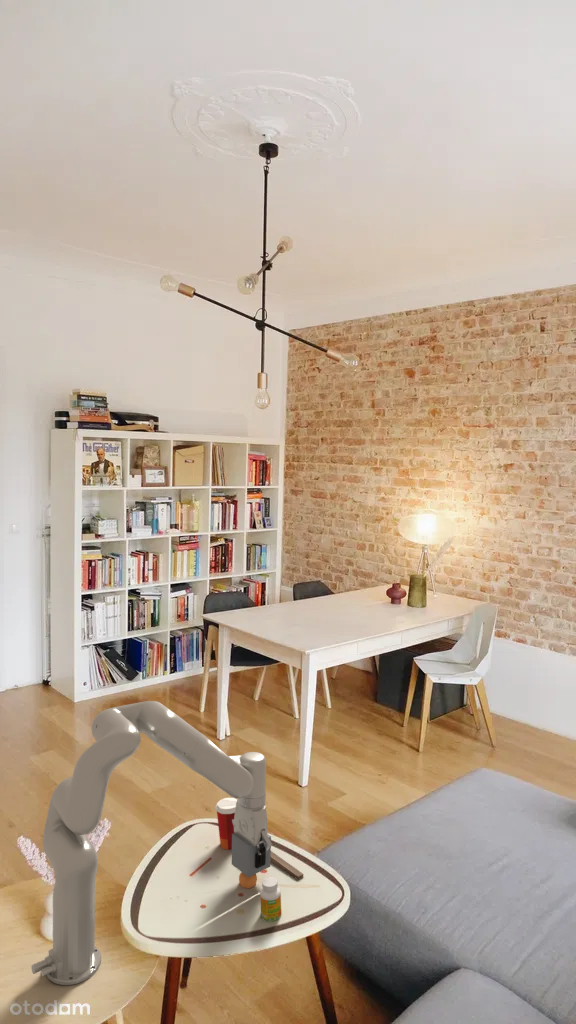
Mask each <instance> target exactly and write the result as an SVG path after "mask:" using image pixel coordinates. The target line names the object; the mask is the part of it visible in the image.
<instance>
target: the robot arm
mask: <svg viewBox="0 0 576 1024" xmlns="http://www.w3.org/2000/svg"><path fill="white" fill-rule="evenodd" d="M90 727H91V728H90V730H91V734H92V736H93V738H94V739H95V742H94V743H92V744H91V745H90V746H89V747H88V748H86V750H84V751H83V753H81V755H80V756H79V757H78V760H77V761H76V764H75V766H74V769H73V772H72V773H73V774H72V776H70V777H66V778H65V779H63V780H62V781H60V783H59V784H57V786H56V787H55V789H54V790H53V792H52V794H51V798H50V801H49V805H48V810H47V815H46V819H45V824H44V830H43V836H42V849H43V852H44V854H45V856H46V858H47V860H48V861H49V863H50V865H51V867H52V869H53V871H54V878H55V880H54V886H53V890H52V891H53V892H52V948H50V949H49V950H48V955H47V956H45V957H44V959H43V960H41V961H37V962H36V963H33V964H32V965H31V966H30V967H31V971H32V972H31V973H32V974H33V975H35V974H37V973H39V972H40V973H41V976H42V977H45V976H46V977H47V978H48V979H49V981H51V982H52V983H54V984H57V985H59V986H72V985H77V984H79V983H83V982H84V981H86V980H87V981H88V980H89V979H90V978H92V976H94V975H95V974H96V973H97V971H98V970H99V968H100V966H101V963H102V954H101V952H100V949H99V948H98V947H97V946H95V939H96V938H95V936H96V935H95V932H96V930H95V927H96V926H95V925H96V924H95V923H96V920H95V919H96V918H95V917H96V915H95V914H96V897H95V896H96V895H95V894H96V880H97V879H96V877H97V875H98V874H97V872H98V867H99V856H98V853H97V850H96V848H95V845H94V844H93V843H92V841H91V840H90V839H89V837H88V834H91V833H92V832H94V831H95V830H96V829H97V827H98V825H99V824H100V822H101V820H102V815H103V811H104V805H105V800H106V796H107V795H106V794H107V790H108V785H109V781H110V778H111V775H112V772H113V771H114V770H115V769H116V768H117V767H118V766H119V765H120V764H121V763H122V762H124V761H126V760H127V759H129V758H130V757H132V756H133V755H134V754H135V752H137V750H138V749H139V748H140V744H141V740H142V739H141V736H142V735H141V734H143V735H145V736H146V737H147V738H149V740H150V741H151V742H153V743H154V744H156V745H157V746H158V747H159V748H161V749H163V750H164V751H165V752H167V753H169V754H170V756H172V757H174V758H175V759H176V760H178V761H179V762H181V763H182V764H184V765H185V766H187V768H189V769H191V770H192V771H194V772H195V773H197V774H198V775H200V776H202V777H203V778H205V779H206V780H207V781H209V782H211V783H212V784H213V785H215V786H216V787H217V788H218V789H220V790H222V792H225V793H226V794H227V795H228V796H230V798H235V799H237V803H236V808H235V816H234V819H233V820H232V823H233V826H234V832H235V833H236V834H237V835H239V836H240V837H242V838H243V839H244V840H246V841H247V842H249V843H250V844H251V845H252V846H256V851H257V854H255V867H256V868H259V867H262V866H264V865H265V863H266V852H267V851H268V850H269V849H270V847H271V848H272V846H273V844H272V840H271V841H270V839H269V838H268V836H267V835H269V834H268V831H269V830H268V826H269V825H268V814H267V807H266V797H267V796H266V795H267V794H266V793H267V792H266V791H267V759H266V756H265V755H264V754H262V753H261V752H256V751H247V752H244V753H243V754H241V755H240V754H239V755H227V753H225V752H224V751H223V750H222V749H220V748H219V747H218V746H217V745H216V744H215V743H214V742H213V741H211V739H209V738H208V737H207V736H206V735H205V734H203V733H202V732H200V731H199V730H197V728H196V727H193V726H192V725H191V724H190V723H188V722H187V721H186V720H185V719H183V718H182V717H181V716H179V715H178V714H176V713H175V712H173V711H172V710H171V709H169V708H168V707H167V706H165V705H164V704H162V703H161V702H159V701H157V700H146V701H140V702H135V703H130V704H124V705H120V706H115V707H109V708H107V709H103V710H102V711H100V712H99V713H98V714H97V715H96V716H95V717H94V718H93V720H92V723H91V726H90ZM260 838H261V839H262V841H260ZM261 843H262V848H261V849H260V847H259V844H261Z"/></svg>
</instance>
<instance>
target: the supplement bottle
mask: <svg viewBox="0 0 576 1024" xmlns="http://www.w3.org/2000/svg"><path fill="white" fill-rule="evenodd" d="M261 883H262V885H261V886H262V888H261V889H260V891H259V898H260V899H259V901H260V902H259V903H260V918H261V919H262V920H263V921H266V922H275V921H277V920H279V919H280V918H281V917H282V896H281V895H282V894H281V893H282V892H281V889H280V887H279V885H278V880H277V878H276V877H271V876H269V877H265V878H263V880H262V882H261Z"/></svg>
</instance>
